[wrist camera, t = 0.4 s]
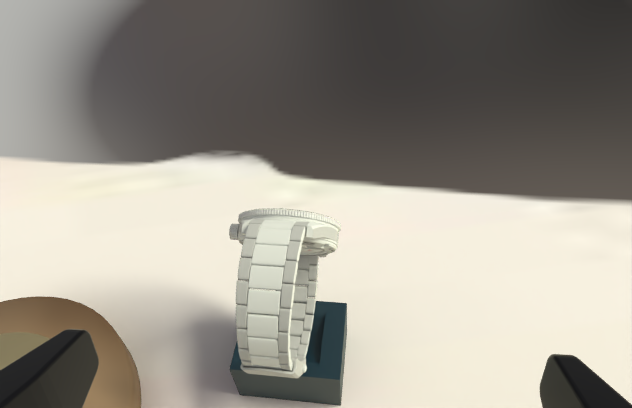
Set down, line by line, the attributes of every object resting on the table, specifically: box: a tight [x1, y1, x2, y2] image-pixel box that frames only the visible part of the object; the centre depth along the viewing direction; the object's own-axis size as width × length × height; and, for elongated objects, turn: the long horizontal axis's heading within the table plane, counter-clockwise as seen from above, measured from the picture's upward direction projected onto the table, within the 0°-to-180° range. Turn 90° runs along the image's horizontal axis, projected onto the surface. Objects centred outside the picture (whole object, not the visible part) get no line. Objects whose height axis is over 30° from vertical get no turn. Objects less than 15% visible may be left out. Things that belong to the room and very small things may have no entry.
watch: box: [229, 208, 347, 405], centre depth 22 cm, size 6×8×11 cm
